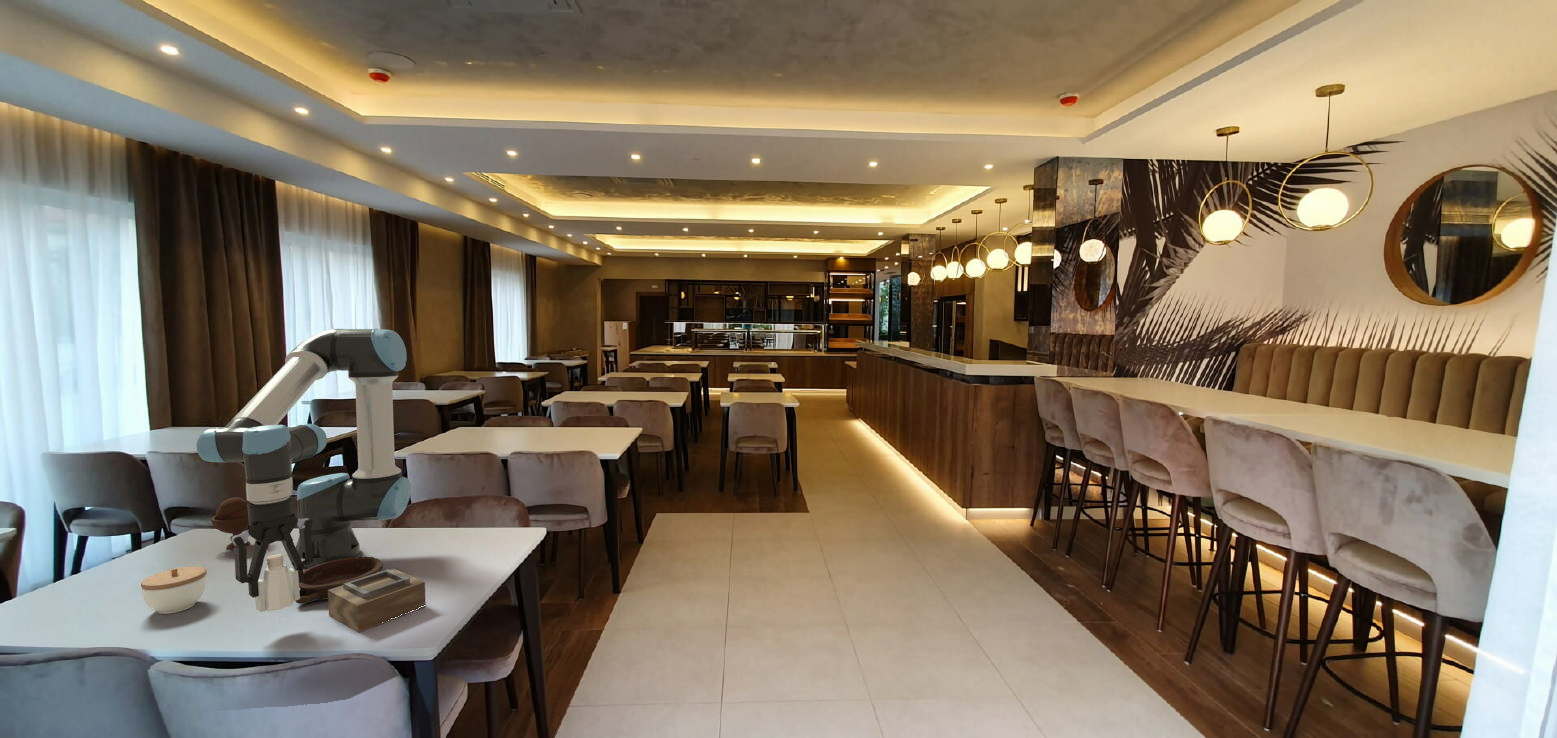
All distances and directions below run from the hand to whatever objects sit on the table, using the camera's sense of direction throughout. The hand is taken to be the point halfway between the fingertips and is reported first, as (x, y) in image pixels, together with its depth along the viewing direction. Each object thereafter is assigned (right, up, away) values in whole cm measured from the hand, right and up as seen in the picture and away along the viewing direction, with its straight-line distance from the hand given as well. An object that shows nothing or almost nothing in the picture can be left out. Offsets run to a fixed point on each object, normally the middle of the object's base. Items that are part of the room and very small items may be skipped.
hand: (278, 603), depth 128 cm
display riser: (+15, -5, +10) cm, 19 cm away
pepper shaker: (0, -1, 0) cm, 1 cm away
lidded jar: (-32, -5, +10) cm, 34 cm away
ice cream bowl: (-52, -2, +48) cm, 71 cm away
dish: (-2, -5, +21) cm, 22 cm away
